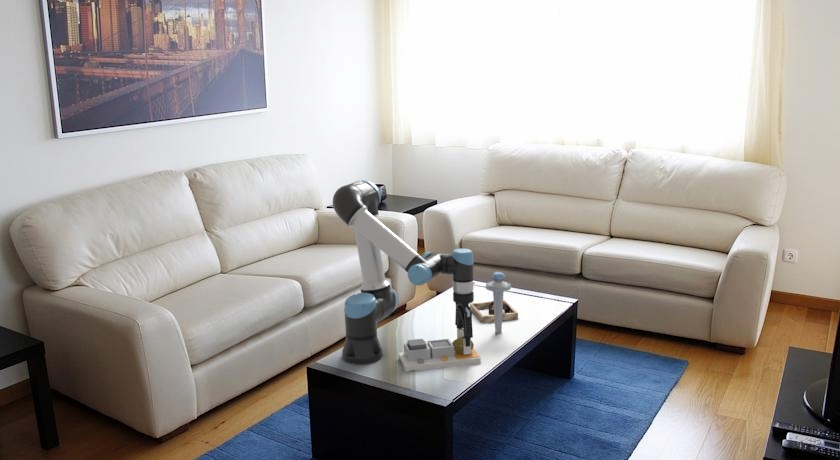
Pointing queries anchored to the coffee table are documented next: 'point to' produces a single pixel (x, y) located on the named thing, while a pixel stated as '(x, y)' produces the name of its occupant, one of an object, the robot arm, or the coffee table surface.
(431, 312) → the coffee table surface
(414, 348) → the block
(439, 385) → the coffee table surface
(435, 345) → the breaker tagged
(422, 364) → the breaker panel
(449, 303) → the coffee table surface
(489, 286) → the novelty light stick
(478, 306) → the mug frame
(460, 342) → the sculpture
